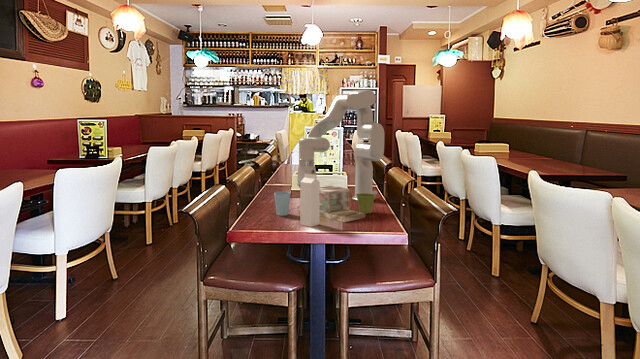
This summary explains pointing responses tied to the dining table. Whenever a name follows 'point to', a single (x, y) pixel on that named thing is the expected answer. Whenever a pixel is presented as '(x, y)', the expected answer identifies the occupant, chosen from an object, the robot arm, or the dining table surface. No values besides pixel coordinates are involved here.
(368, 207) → the plant pot
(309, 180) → the milk
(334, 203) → the block
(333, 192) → the tunnel
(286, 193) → the cup
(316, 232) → the dining table surface
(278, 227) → the dining table surface
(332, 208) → the slider
